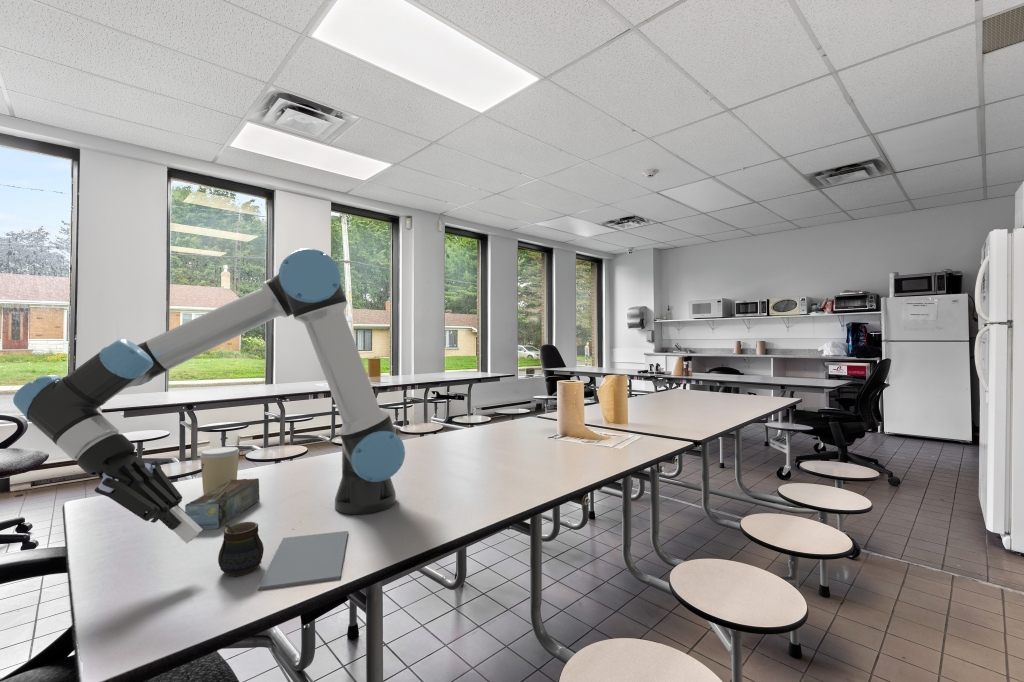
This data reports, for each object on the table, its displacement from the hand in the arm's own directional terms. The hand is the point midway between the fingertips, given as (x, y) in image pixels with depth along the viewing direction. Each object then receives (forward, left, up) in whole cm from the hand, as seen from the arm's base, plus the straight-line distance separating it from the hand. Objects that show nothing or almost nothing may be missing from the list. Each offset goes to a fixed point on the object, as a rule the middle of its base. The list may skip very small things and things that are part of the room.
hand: (194, 536), depth 83 cm
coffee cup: (+11, -50, -7) cm, 52 cm away
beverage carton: (+4, -31, -7) cm, 32 cm away
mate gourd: (-8, +2, -7) cm, 11 cm away
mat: (-19, 0, -7) cm, 20 cm away
